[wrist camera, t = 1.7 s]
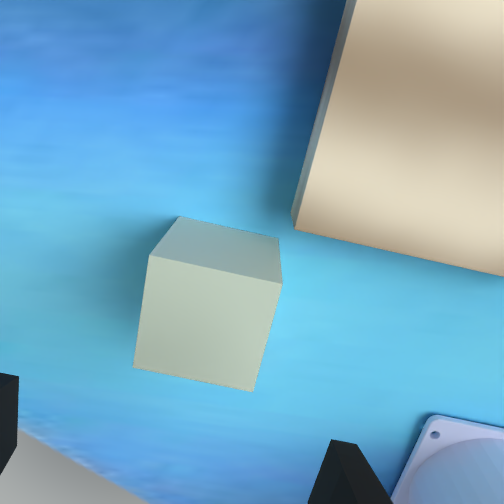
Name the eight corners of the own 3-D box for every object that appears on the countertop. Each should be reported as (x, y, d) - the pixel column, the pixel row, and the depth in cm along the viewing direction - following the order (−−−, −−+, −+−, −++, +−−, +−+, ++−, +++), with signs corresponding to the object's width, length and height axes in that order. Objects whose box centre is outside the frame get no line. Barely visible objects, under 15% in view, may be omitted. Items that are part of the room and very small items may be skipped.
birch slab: (522, 263, 19) (567, 291, 16) (290, 210, 18) (294, 229, 15) (654, -8, 15) (745, -34, 12) (367, -84, 14) (392, -130, 12)
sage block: (255, 323, 20) (252, 392, 15) (164, 304, 20) (132, 367, 15) (278, 237, 18) (282, 284, 14) (179, 215, 18) (149, 255, 13)
